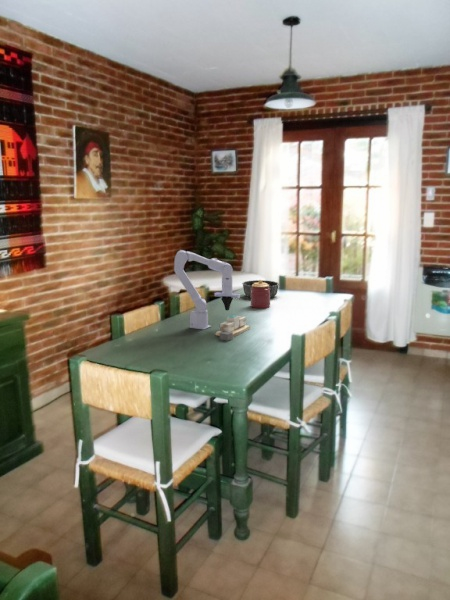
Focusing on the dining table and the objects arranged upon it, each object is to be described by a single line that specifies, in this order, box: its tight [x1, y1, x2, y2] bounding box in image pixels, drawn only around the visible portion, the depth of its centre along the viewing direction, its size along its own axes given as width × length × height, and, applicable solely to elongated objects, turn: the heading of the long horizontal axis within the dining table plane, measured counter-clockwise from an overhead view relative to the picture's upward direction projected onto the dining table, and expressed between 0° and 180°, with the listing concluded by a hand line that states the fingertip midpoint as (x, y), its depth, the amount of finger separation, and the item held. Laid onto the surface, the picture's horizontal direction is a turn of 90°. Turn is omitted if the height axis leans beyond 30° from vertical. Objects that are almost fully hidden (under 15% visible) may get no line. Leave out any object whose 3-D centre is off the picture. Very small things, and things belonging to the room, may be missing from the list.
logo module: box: [226, 314, 240, 329], centre depth 261 cm, size 4×5×6 cm
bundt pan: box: [242, 279, 280, 299], centre depth 354 cm, size 26×26×10 cm
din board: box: [215, 315, 251, 338], centre depth 261 cm, size 10×20×6 cm, turn 151°
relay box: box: [219, 331, 234, 342], centre depth 248 cm, size 5×4×4 cm
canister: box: [250, 279, 271, 309], centre depth 320 cm, size 13×13×18 cm
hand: (227, 310), depth 271 cm, fingers closed
